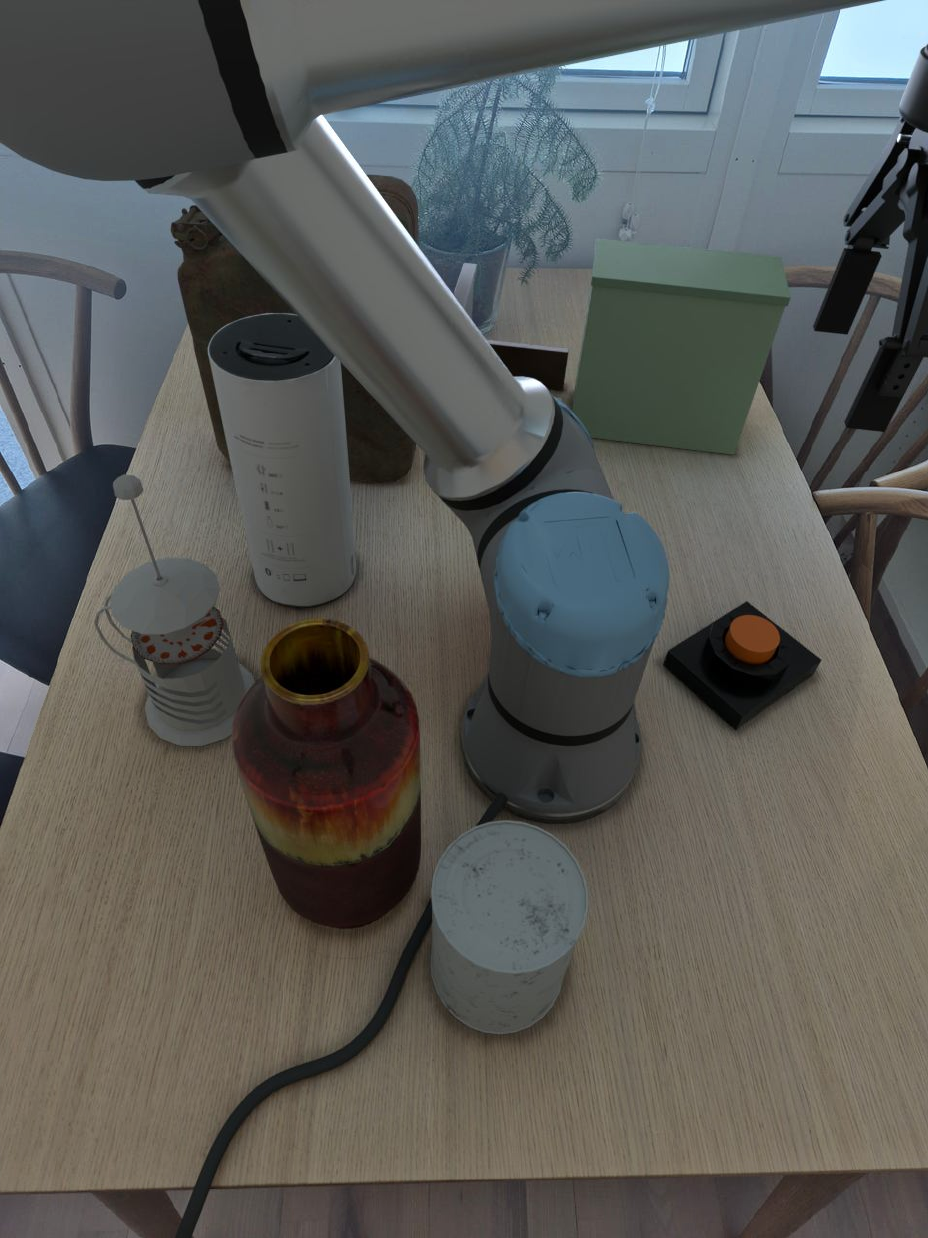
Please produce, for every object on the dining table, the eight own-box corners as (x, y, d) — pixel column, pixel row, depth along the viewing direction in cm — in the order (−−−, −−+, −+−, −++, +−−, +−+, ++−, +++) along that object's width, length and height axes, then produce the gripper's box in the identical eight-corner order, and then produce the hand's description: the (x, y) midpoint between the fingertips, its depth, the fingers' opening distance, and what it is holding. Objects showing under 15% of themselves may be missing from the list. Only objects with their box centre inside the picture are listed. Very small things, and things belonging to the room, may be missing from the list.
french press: (234, 755, 70) (163, 538, 51) (105, 732, 71) (-11, 511, 52) (273, 666, 76) (222, 443, 57) (154, 646, 77) (66, 421, 58)
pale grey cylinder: (446, 1050, 55) (450, 991, 46) (418, 913, 61) (416, 836, 52) (581, 1016, 57) (611, 952, 48) (541, 885, 63) (560, 807, 54)
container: (423, 437, 100) (421, 173, 77) (412, 490, 93) (407, 218, 71) (239, 422, 101) (185, 156, 78) (216, 474, 94) (149, 199, 72)
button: (751, 672, 73) (757, 659, 72) (714, 640, 75) (719, 628, 74) (784, 650, 75) (790, 637, 73) (746, 620, 77) (752, 607, 76)
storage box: (730, 411, 106) (781, 256, 91) (735, 456, 100) (791, 297, 84) (572, 393, 107) (596, 237, 92) (567, 435, 101) (592, 276, 86)
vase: (389, 786, 68) (374, 561, 49) (445, 905, 62) (453, 700, 42) (258, 838, 65) (185, 618, 45) (303, 970, 58) (240, 779, 39)
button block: (735, 730, 73) (748, 704, 70) (662, 665, 78) (672, 637, 75) (813, 674, 78) (829, 647, 75) (740, 615, 82) (752, 587, 79)
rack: (563, 385, 108) (579, 274, 97) (556, 442, 100) (572, 328, 89) (460, 373, 109) (463, 262, 98) (444, 429, 101) (446, 314, 90)
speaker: (376, 555, 86) (361, 323, 67) (328, 623, 80) (297, 389, 60) (287, 527, 89) (248, 295, 69) (234, 591, 82) (174, 355, 63)
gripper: (1155, 130, 39) (938, 482, 55) (992, 3, 56) (862, 302, 71) (994, 115, 39) (825, 469, 55) (879, -7, 56) (774, 292, 72)
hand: (845, 375), depth 63 cm, fingers open, 13 cm apart
